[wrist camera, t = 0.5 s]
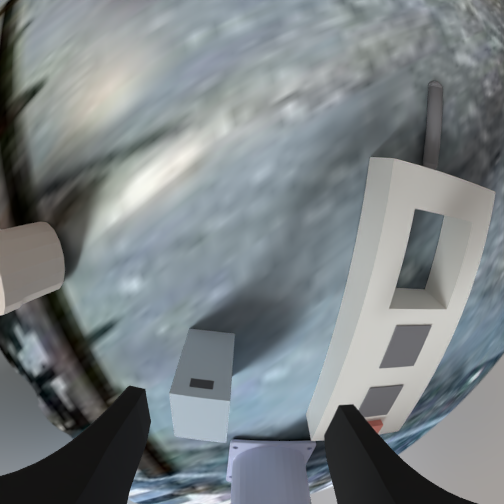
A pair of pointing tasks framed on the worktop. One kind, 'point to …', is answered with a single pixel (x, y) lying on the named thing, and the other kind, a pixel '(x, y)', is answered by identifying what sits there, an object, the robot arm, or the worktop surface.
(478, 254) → the power strip
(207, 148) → the worktop surface
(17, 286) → the toilet paper hanger
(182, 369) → the block
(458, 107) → the worktop surface
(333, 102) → the worktop surface
